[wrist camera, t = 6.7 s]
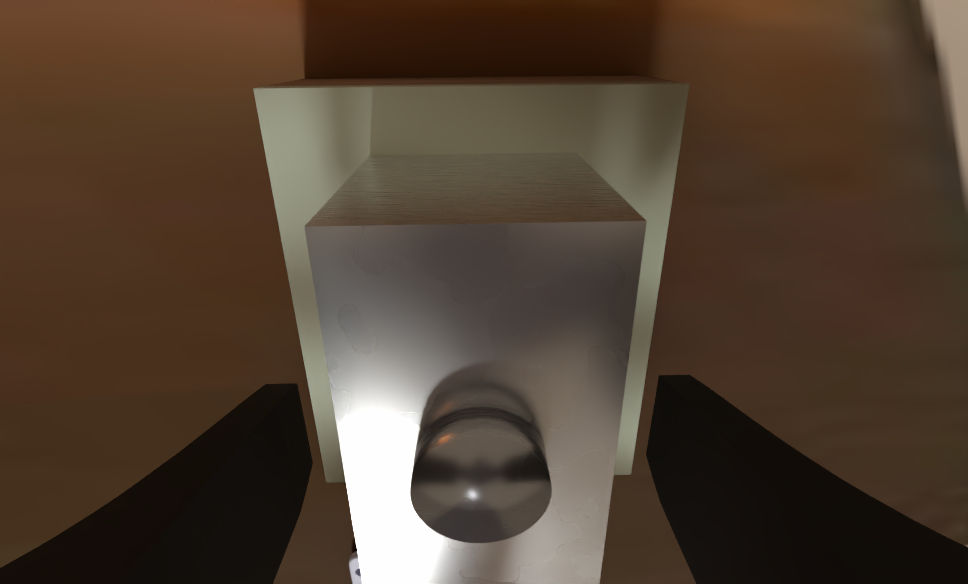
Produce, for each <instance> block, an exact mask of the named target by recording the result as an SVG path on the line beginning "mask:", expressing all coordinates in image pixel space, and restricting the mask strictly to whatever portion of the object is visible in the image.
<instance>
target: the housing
mask: <svg viewBox="0 0 968 584" xmlns="http://www.w3.org/2000/svg"><path fill="white" fill-rule="evenodd" d="M646 224H647V221H646V220H645V219H644V218H643V217H642V216H641V215H640V214H639V213H638V212H637V211H636V210H635V209H634V208H633V207H632V206H631V205H630V204H629V203H628V202H627V201H626V200H625V199H624V198H623V197H622V196H621V195H620V194H619V193H618V192H617V191H616V190H615V189H614V188H613V187H612V186H611V185H609V184H608V183H607V182H606V181H605V180H604V179H603V178H602V177H601V176H600V175H599V174H598V173H597V172H596V171H595V170H594V169H593V168H592V167H591V166H590V165H589V164H588V163H587V162H586V161H585V160H584V159H583V158H582V157H581V156H580V155H579V154H578V153H577V152H561V153H485V154H409V155H369V157H368V158H367V159H366V160H365V161H364V162H363V163H362V164H361V165H360V166H359V167H358V168H357V170H356V171H355V172H354V173H353V174H352V175H351V176H350V177H349V178H348V179H347V180H346V182H345V183H344V184H343V185H342V186H341V187H340V188H339V189H338V190H337V191H336V192H335V194H334V195H333V196H332V197H331V198H330V199H329V200H328V201H327V202H326V203H325V204H324V205H323V207H322V208H321V209H320V210H319V211H318V212H317V213H316V214H315V215H314V216H313V217H312V219H311V220H310V221H309V222H308V223H307V224H306V225H305V226H304V229H305V235H306V241H307V247H308V253H309V259H310V265H311V271H312V277H313V284H314V290H315V296H316V302H317V308H318V314H319V320H320V326H321V332H322V339H323V345H324V351H325V357H326V363H327V369H328V375H329V381H330V387H331V394H332V400H333V406H334V412H335V418H336V424H337V430H338V436H339V442H340V448H341V455H342V461H343V467H344V473H345V479H346V485H347V491H348V497H349V503H350V510H351V516H352V522H353V528H354V534H355V540H356V546H357V552H358V558H359V564H360V571H361V577H362V583H363V584H599V582H600V574H601V566H602V559H603V551H604V544H605V536H606V528H607V521H608V513H609V506H610V498H611V490H612V483H613V475H614V467H615V460H616V452H617V445H618V437H619V429H620V422H621V414H622V407H623V399H624V391H625V384H626V376H627V369H628V361H629V353H630V346H631V338H632V331H633V323H634V315H635V308H636V300H637V293H638V285H639V277H640V270H641V262H642V255H643V247H644V239H645V232H646Z"/></svg>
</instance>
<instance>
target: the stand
mask: <svg viewBox="0 0 968 584" xmlns="http://www.w3.org/2000/svg"><path fill="white" fill-rule="evenodd" d="M253 89H254V95H255V100H256V105H257V111H258V116H259V122H260V127H261V132H262V138H263V143H264V148H265V154H266V159H267V165H268V170H269V175H270V181H271V186H272V192H273V197H274V202H275V208H276V213H277V219H278V224H279V229H280V235H281V240H282V246H283V251H284V256H285V262H286V267H287V272H288V278H289V283H290V289H291V294H292V299H293V305H294V310H295V316H296V321H297V326H298V332H299V337H300V343H301V348H302V353H303V359H304V364H305V369H306V375H307V380H308V386H309V391H310V396H311V402H312V407H313V413H314V418H315V423H316V429H317V434H318V440H319V445H320V450H321V456H322V461H323V466H324V472H325V477H326V482H346V479H345V473H344V467H343V461H342V455H341V448H340V442H339V436H338V430H337V424H336V418H335V412H334V406H333V400H332V394H331V387H330V381H329V375H328V369H327V363H326V357H325V351H324V345H323V339H322V332H321V326H320V320H319V314H318V308H317V302H316V296H315V290H314V284H313V277H312V271H311V265H310V259H309V253H308V247H307V241H306V235H305V229H304V226H305V225H306V224H307V223H308V222H309V221H310V220H311V219H312V217H313V216H314V215H315V214H316V213H317V212H318V211H319V210H320V209H321V208H322V207H323V205H324V204H325V203H326V202H327V201H328V200H329V199H330V198H331V197H332V196H333V195H334V194H335V192H336V191H337V190H338V189H339V188H340V187H341V186H342V185H343V184H344V183H345V182H346V180H347V179H348V178H349V177H350V176H351V175H352V174H353V173H354V172H355V171H356V170H357V168H358V167H359V166H360V165H361V164H362V163H363V162H364V161H365V160H366V159H367V158H368V157H369V155H409V154H485V153H561V152H577V153H578V154H579V155H580V156H581V157H582V158H583V159H584V160H585V161H586V162H587V163H588V164H589V165H590V166H591V167H592V168H593V169H594V170H595V171H596V172H597V173H598V174H599V175H600V176H601V177H602V178H603V179H604V180H605V181H606V182H607V183H608V184H609V185H611V186H612V187H613V188H614V189H615V190H616V191H617V192H618V193H619V194H620V195H621V196H622V197H623V198H624V199H625V200H626V201H627V202H628V203H629V204H630V205H631V206H632V207H633V208H634V209H635V210H636V211H637V212H638V213H639V214H640V215H641V216H642V217H643V218H644V219H645V220H646V221H647V224H646V232H645V239H644V247H643V255H642V262H641V270H640V277H639V285H638V293H637V300H636V308H635V315H634V323H633V331H632V338H631V346H630V353H629V361H628V369H627V376H626V384H625V391H624V399H623V407H622V414H621V422H620V429H619V437H618V445H617V452H616V460H615V467H614V475H630V474H631V469H632V463H633V456H634V449H635V443H636V436H637V430H638V423H639V416H640V410H641V403H642V396H643V390H644V383H645V376H646V370H647V363H648V356H649V350H650V343H651V336H652V330H653V323H654V316H655V310H656V303H657V296H658V290H659V283H660V276H661V270H662V263H663V257H664V250H665V243H666V237H667V230H668V223H669V217H670V210H671V203H672V197H673V190H674V183H675V177H676V170H677V163H678V157H679V150H680V143H681V137H682V130H683V123H684V117H685V110H686V103H687V97H688V90H689V84H687V83H681V82H675V81H669V80H663V79H657V78H651V77H645V76H639V75H623V76H525V77H428V78H330V79H300V80H295V81H290V82H285V83H279V84H274V85H269V86H264V87H259V88H253Z"/></svg>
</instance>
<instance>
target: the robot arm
mask: <svg viewBox="0 0 968 584" xmlns="http://www.w3.org/2000/svg"><path fill="white" fill-rule="evenodd" d="M646 456H647V459H648V463H649V466H650V470H651V473H652V477H653V480H654V483H655V487H656V490H657V493H658V496H659V499H660V502H661V505H662V507H663V509H664V512H665V514H666V516H667V519H668V521H669V523H670V525H671V528H672V530H673V532H674V534H675V537H676V539H677V541H678V544H679V546H680V548H681V550H682V552H683V555H684V557H685V559H686V561H687V564H688V566H689V568H690V570H691V572H692V575H693V577H694V579H695V581H696V584H968V547H966V546H964V545H962V544H960V543H958V542H955V541H953V540H951V539H949V538H947V537H945V536H943V535H941V534H939V533H937V532H935V531H933V530H932V529H930V528H928V527H926V526H924V525H922V524H920V523H918V522H916V521H914V520H912V519H910V518H909V517H907V516H905V515H903V514H901V513H900V512H898V511H896V510H894V509H893V508H891V507H889V506H887V505H885V504H884V503H882V502H880V501H878V500H876V499H875V498H873V497H871V496H869V495H868V494H866V493H864V492H862V491H861V490H859V489H857V488H856V487H854V486H852V485H851V484H849V483H847V482H845V481H844V480H842V479H841V478H839V477H837V476H836V475H834V474H833V473H831V472H830V471H828V470H826V469H825V468H823V467H822V466H820V465H819V464H817V463H815V462H814V461H812V460H811V459H809V458H808V457H806V456H805V455H803V454H802V453H800V452H799V451H797V450H796V449H794V448H793V447H791V446H790V445H788V444H787V443H785V442H784V441H782V440H781V439H779V438H778V437H777V436H775V435H774V434H772V433H771V432H769V431H768V430H767V429H765V428H764V427H762V426H761V425H759V424H758V423H757V422H755V421H754V420H752V419H751V418H750V417H748V416H747V415H746V414H744V413H743V412H741V411H740V410H739V409H737V408H736V407H735V406H733V405H732V404H730V403H729V402H728V401H726V400H725V399H724V398H722V397H721V396H719V395H718V394H717V393H715V392H714V391H712V390H711V389H710V388H708V387H707V386H705V385H704V384H703V383H701V382H700V381H698V380H697V379H695V378H693V377H692V376H690V375H661V376H659V379H658V385H657V391H656V397H655V404H654V410H653V416H652V422H651V428H650V434H649V440H648V446H647V452H646ZM312 464H313V462H312V457H311V452H310V447H309V442H308V436H307V431H306V426H305V421H304V416H303V411H302V406H301V401H300V396H299V391H298V386H297V384H266V385H264V386H263V387H262V388H260V389H259V390H257V391H256V392H255V393H253V394H252V395H251V396H250V397H248V398H247V399H246V400H244V401H243V402H242V403H241V404H239V405H238V406H237V407H236V408H234V409H233V410H232V411H231V412H229V413H228V414H227V415H226V416H225V417H223V418H222V419H221V420H220V421H218V422H217V423H216V424H214V425H213V426H212V427H211V428H209V429H208V430H207V431H206V432H204V433H203V434H202V435H201V436H199V437H198V438H197V439H195V440H194V441H193V442H192V443H190V444H189V445H188V446H187V447H185V448H184V449H183V450H181V451H180V452H179V453H177V454H176V455H175V456H173V457H172V458H171V459H169V460H168V461H166V462H165V463H164V464H162V465H161V466H160V467H158V468H157V469H155V470H154V471H153V472H151V473H150V474H149V475H147V476H146V477H144V478H143V479H142V480H140V481H139V482H138V483H136V484H135V485H133V486H132V487H131V488H129V489H128V490H127V491H125V492H124V493H122V494H121V495H119V496H118V497H116V498H115V499H113V500H112V501H111V502H109V503H108V504H106V505H104V506H103V507H101V508H100V509H98V510H97V511H95V512H94V513H92V514H91V515H89V516H88V517H86V518H84V519H83V520H81V521H80V522H78V523H76V524H75V525H73V526H72V527H70V528H68V529H67V530H65V531H64V532H62V533H60V534H59V535H57V536H56V537H54V538H52V539H51V540H49V541H47V542H46V543H44V544H42V545H41V546H39V547H37V548H35V549H34V550H32V551H30V552H28V553H26V554H25V555H23V556H21V557H19V558H18V559H16V560H14V561H12V562H10V563H9V564H7V565H5V566H3V567H2V568H0V584H273V582H274V579H275V577H276V574H277V571H278V569H279V566H280V564H281V561H282V559H283V556H284V554H285V551H286V549H287V546H288V543H289V541H290V538H291V536H292V533H293V530H294V528H295V525H296V522H297V520H298V517H299V514H300V512H301V508H302V504H303V501H304V497H305V493H306V489H307V485H308V481H309V476H310V472H311V468H312ZM349 567H350V573H351V579H352V584H363V583H362V577H361V571H360V564H359V558H358V552H357V551H356V552H354V553H352V555H351V557H350V561H349Z"/></svg>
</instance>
